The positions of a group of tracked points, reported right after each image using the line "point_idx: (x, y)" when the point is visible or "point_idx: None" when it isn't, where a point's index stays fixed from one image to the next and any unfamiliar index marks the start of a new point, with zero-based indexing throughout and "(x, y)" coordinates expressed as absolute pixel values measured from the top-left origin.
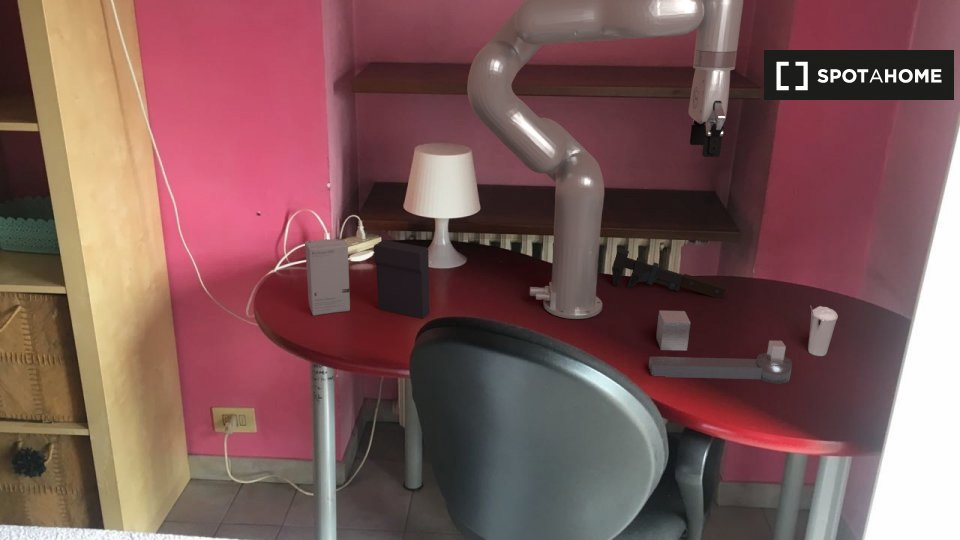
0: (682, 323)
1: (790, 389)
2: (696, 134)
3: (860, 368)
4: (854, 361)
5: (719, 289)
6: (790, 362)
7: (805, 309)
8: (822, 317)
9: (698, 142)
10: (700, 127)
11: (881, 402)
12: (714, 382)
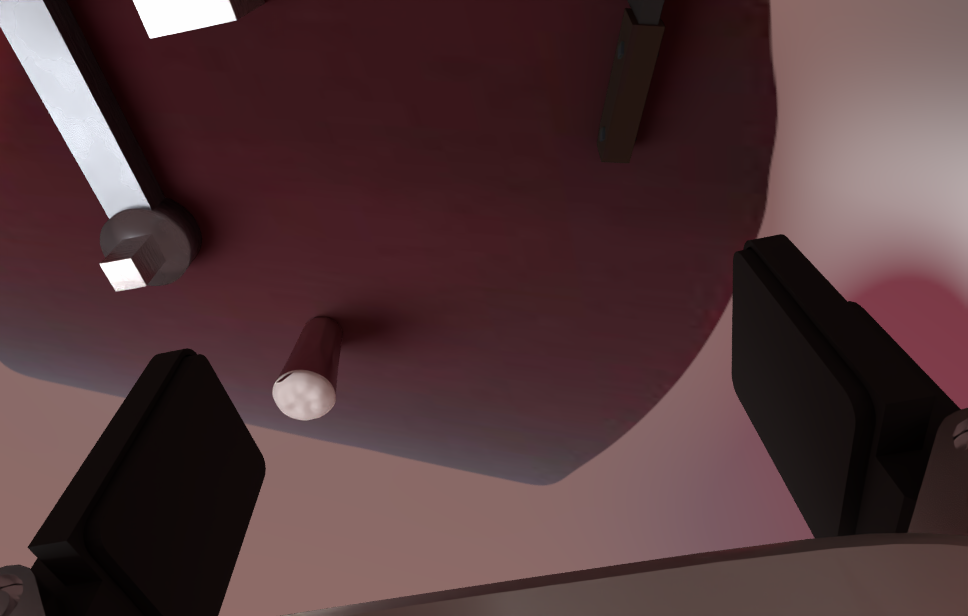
0: (138, 9)
1: None
2: (787, 368)
3: None
4: None
5: (603, 143)
6: (155, 282)
7: (556, 338)
8: (274, 390)
9: (742, 333)
10: (829, 479)
11: None
12: None
